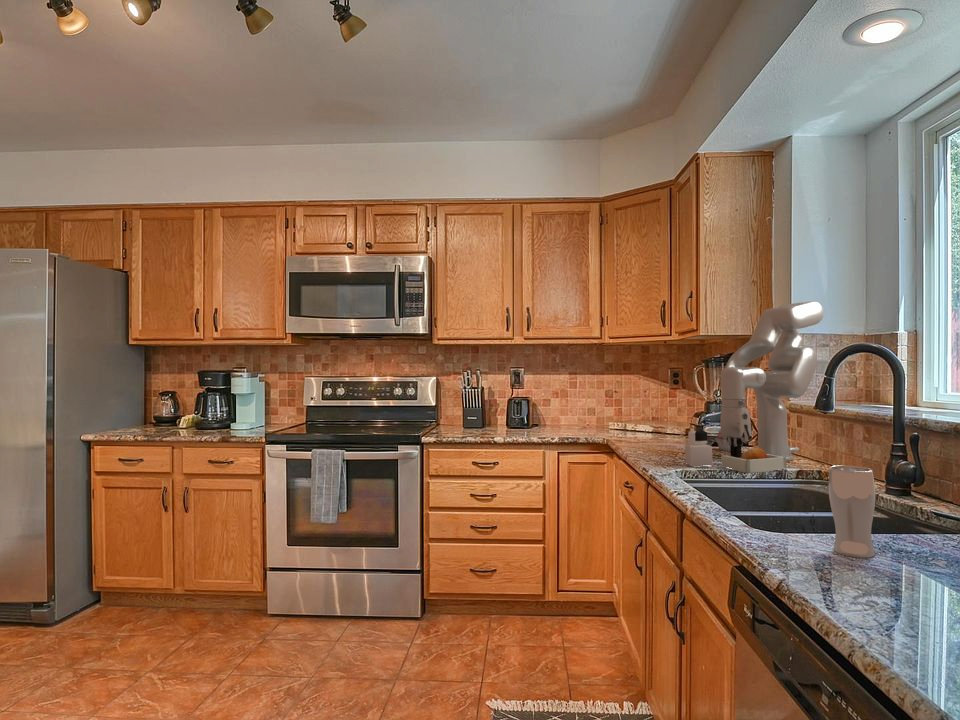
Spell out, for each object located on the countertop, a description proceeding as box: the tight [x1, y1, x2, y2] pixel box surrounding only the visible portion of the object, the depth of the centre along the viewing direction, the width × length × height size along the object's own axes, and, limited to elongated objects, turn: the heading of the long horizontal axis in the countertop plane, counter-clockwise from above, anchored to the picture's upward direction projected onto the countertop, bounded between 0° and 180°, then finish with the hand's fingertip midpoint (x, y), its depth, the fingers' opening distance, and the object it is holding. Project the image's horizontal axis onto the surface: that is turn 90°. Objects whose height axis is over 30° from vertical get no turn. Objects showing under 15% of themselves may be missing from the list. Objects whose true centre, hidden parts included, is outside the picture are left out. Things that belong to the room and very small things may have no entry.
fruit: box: [741, 447, 767, 460], centre depth 183 cm, size 8×8×8 cm
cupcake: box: [714, 429, 730, 452], centre depth 225 cm, size 9×9×10 cm
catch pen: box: [720, 454, 788, 474], centre depth 184 cm, size 15×12×4 cm
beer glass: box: [828, 465, 876, 559], centre depth 100 cm, size 7×7×15 cm
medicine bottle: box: [684, 429, 713, 467], centre depth 192 cm, size 7×7×12 cm
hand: (736, 457), depth 192 cm, fingers closed
